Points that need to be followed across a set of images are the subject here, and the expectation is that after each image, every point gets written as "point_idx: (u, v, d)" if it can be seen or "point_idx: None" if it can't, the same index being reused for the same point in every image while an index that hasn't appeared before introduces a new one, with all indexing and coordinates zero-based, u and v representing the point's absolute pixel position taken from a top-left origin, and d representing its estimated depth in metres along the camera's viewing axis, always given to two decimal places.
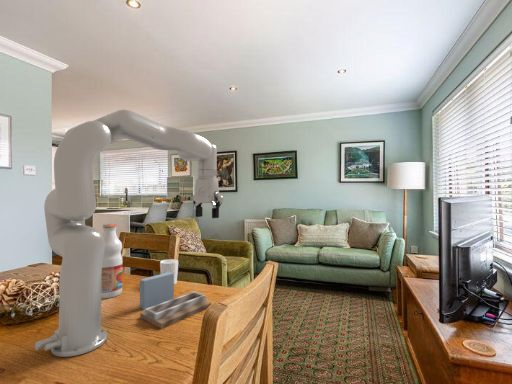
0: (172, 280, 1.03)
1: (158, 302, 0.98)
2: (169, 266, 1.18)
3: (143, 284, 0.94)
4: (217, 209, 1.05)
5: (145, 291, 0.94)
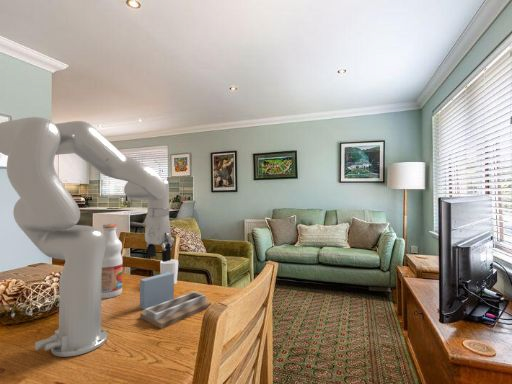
0: (172, 280, 1.03)
1: (158, 302, 0.98)
2: (169, 266, 1.18)
3: (143, 284, 0.94)
4: (168, 251, 0.96)
5: (145, 291, 0.94)
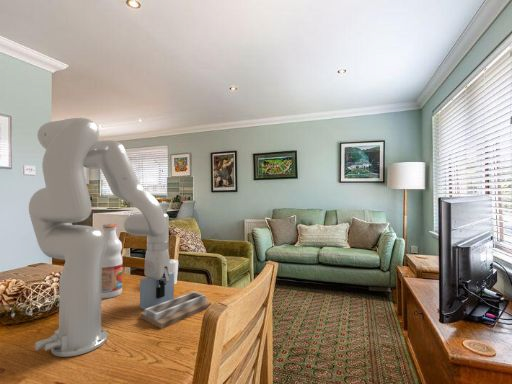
0: (172, 280, 1.03)
1: (158, 302, 0.98)
2: None
3: (143, 284, 0.94)
4: (162, 288, 0.98)
5: (145, 291, 0.94)
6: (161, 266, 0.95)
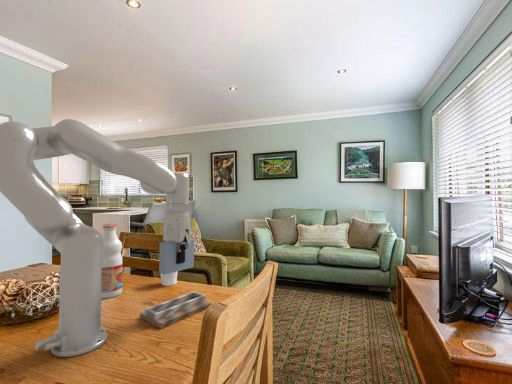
0: (192, 246, 0.96)
1: (178, 268, 0.91)
2: None
3: (163, 247, 0.87)
4: (182, 253, 0.91)
5: (166, 255, 0.87)
6: (182, 228, 0.88)
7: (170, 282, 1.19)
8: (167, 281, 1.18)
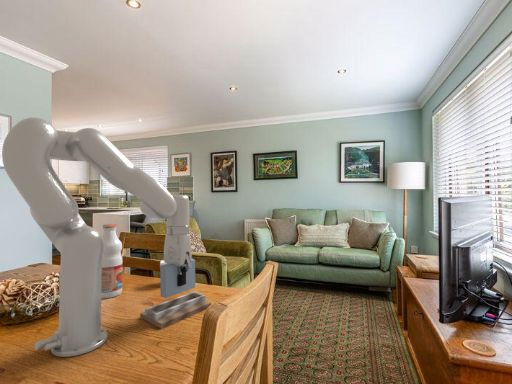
0: (193, 267, 0.96)
1: (180, 290, 0.91)
2: None
3: (164, 270, 0.87)
4: (183, 275, 0.91)
5: (167, 278, 0.87)
6: (183, 251, 0.88)
7: None
8: None
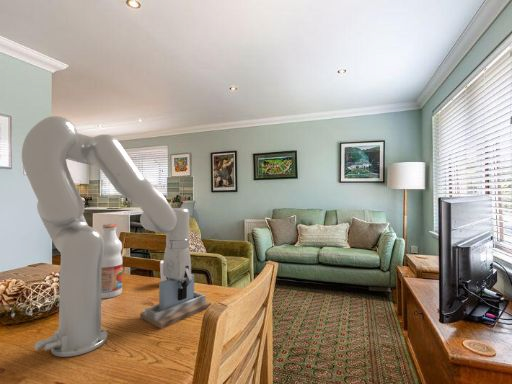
0: (192, 282, 0.95)
1: None
2: None
3: (163, 287, 0.87)
4: (184, 289, 0.90)
5: (165, 295, 0.87)
6: (182, 265, 0.88)
7: None
8: None
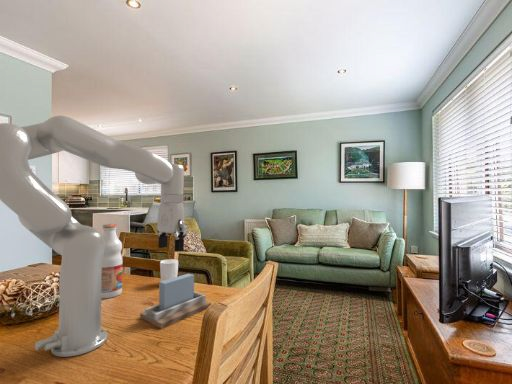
0: (192, 282, 0.95)
1: None
2: (169, 266, 1.18)
3: (163, 287, 0.87)
4: (181, 241, 0.89)
5: (165, 295, 0.87)
6: (175, 218, 0.89)
7: None
8: None
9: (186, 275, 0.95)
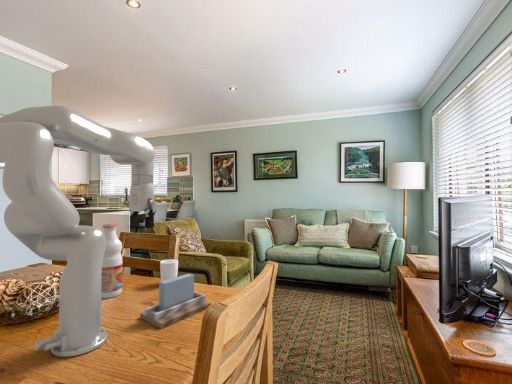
0: (192, 282, 0.95)
1: None
2: (169, 266, 1.18)
3: (163, 287, 0.87)
4: (151, 218, 0.95)
5: (165, 295, 0.87)
6: (145, 197, 0.95)
7: None
8: None
9: (186, 275, 0.95)
